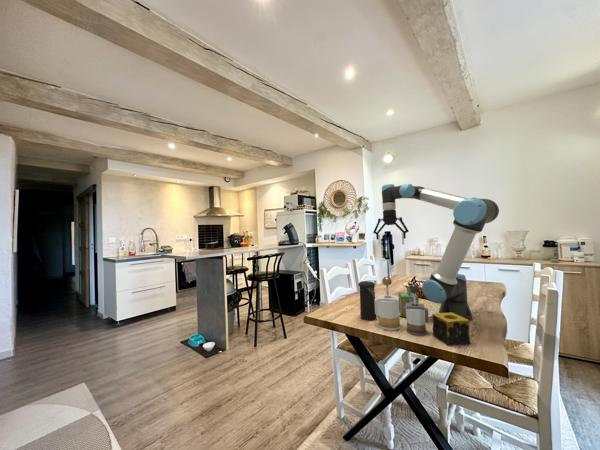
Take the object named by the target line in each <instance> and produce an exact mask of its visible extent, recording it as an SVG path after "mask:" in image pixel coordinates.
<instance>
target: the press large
mask: <svg viewBox="0 0 600 450" xmlns="http://www.w3.org/2000/svg"><path fill="white" fill-rule="evenodd" d="M374 301H375V314H376V315H377V316H378V317H377V319H378V325H377V326H378V327H379V328H380V329H382V330H386V331H398V330H400V329H401V328H402V327H401V319H400V318H401V317H400V316H401V315H400V313H399V297H398V295H393V294H392V295H390V294H389V298H387V294H378V296H377V298H375V300H374ZM388 301H389V302H388Z"/></svg>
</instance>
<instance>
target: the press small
mask: <svg viewBox="0 0 600 450" xmlns="http://www.w3.org/2000/svg"><path fill="white" fill-rule="evenodd" d="M405 318H406V333H408V334H410V335H413V336H418V337H421V336H426V335H427V327H426V326H427V324H429V320H430V319H429V309H428V308H427V307H425V305H424V303H416V306H414V303H406V317H405Z"/></svg>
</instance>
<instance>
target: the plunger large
mask: <svg viewBox="0 0 600 450" xmlns="http://www.w3.org/2000/svg"><path fill="white" fill-rule="evenodd" d="M381 282H382V285H384V286H385V292H386V295H387V298H389V295H390V294H389V293H390V292H389V286H390V285H392V279H391V278H390V277H388V276H384V277H383V278H382V279H381ZM388 302H389V301H388Z"/></svg>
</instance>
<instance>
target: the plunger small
mask: <svg viewBox="0 0 600 450" xmlns="http://www.w3.org/2000/svg"><path fill="white" fill-rule="evenodd" d="M408 288H409V289H410V293H413V299H414V306H416V297H415V294H417V293H418V292H419V290H420V289H419V286H418V285H417V284H416V283H413V284H412V283H411V284H410V285H409V287H408Z"/></svg>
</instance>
